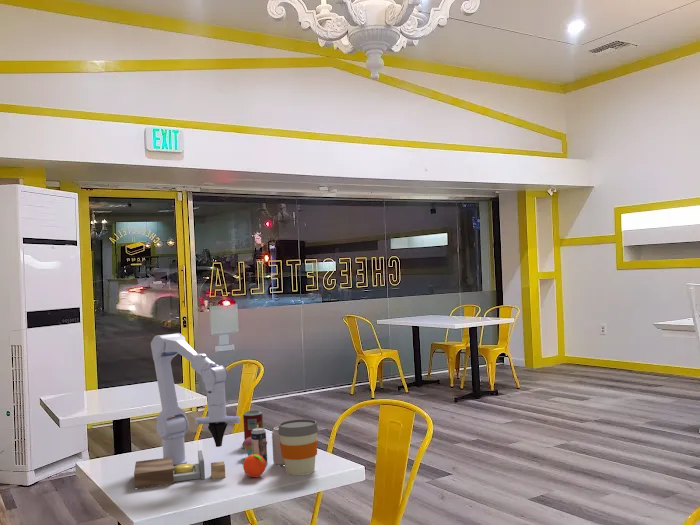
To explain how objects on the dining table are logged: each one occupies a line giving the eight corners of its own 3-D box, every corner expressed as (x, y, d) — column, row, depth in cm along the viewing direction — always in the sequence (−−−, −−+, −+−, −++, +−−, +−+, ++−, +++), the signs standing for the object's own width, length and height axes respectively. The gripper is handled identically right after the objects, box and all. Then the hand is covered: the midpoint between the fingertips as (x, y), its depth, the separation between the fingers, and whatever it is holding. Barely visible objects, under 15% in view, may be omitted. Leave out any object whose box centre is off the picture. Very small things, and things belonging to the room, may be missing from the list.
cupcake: (272, 455, 230) (271, 420, 230) (256, 461, 223) (255, 425, 223) (253, 452, 235) (252, 418, 235) (237, 459, 227) (235, 424, 228)
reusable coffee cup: (287, 479, 200) (284, 429, 201) (275, 469, 212) (272, 422, 212) (326, 472, 205) (323, 424, 206) (312, 463, 217) (309, 417, 217)
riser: (211, 475, 209) (210, 462, 209) (224, 473, 210) (223, 461, 210) (212, 479, 205) (211, 466, 205) (225, 477, 206) (224, 464, 206)
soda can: (265, 445, 244) (263, 412, 244) (245, 448, 242) (243, 414, 243) (262, 441, 251) (260, 409, 251) (243, 443, 249) (242, 411, 249)
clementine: (272, 476, 204) (271, 453, 205) (254, 482, 200) (253, 458, 200) (257, 472, 210) (256, 449, 210) (239, 477, 205) (238, 454, 205)
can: (269, 466, 216) (267, 429, 217) (280, 459, 223) (278, 424, 224) (289, 467, 214) (287, 430, 214) (300, 461, 220) (298, 424, 221)
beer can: (264, 467, 214) (262, 430, 215) (250, 468, 215) (248, 430, 216) (269, 463, 219) (267, 427, 219) (255, 463, 220) (253, 427, 220)
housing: (136, 475, 214) (135, 461, 214) (173, 470, 217) (172, 457, 217) (134, 488, 199) (133, 473, 199) (173, 483, 202) (173, 468, 203)
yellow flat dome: (174, 471, 213) (173, 465, 213) (192, 469, 214) (192, 462, 214) (174, 476, 207) (173, 469, 207) (193, 473, 209) (192, 467, 209)
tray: (166, 471, 216) (165, 454, 216) (202, 466, 219) (201, 450, 219) (166, 483, 202) (165, 465, 203) (204, 478, 206) (204, 460, 206)
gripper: (241, 400, 217) (244, 442, 217) (199, 402, 219) (201, 443, 219) (235, 404, 210) (238, 447, 210) (191, 406, 212) (194, 449, 212)
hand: (218, 446), depth 214 cm, fingers closed
